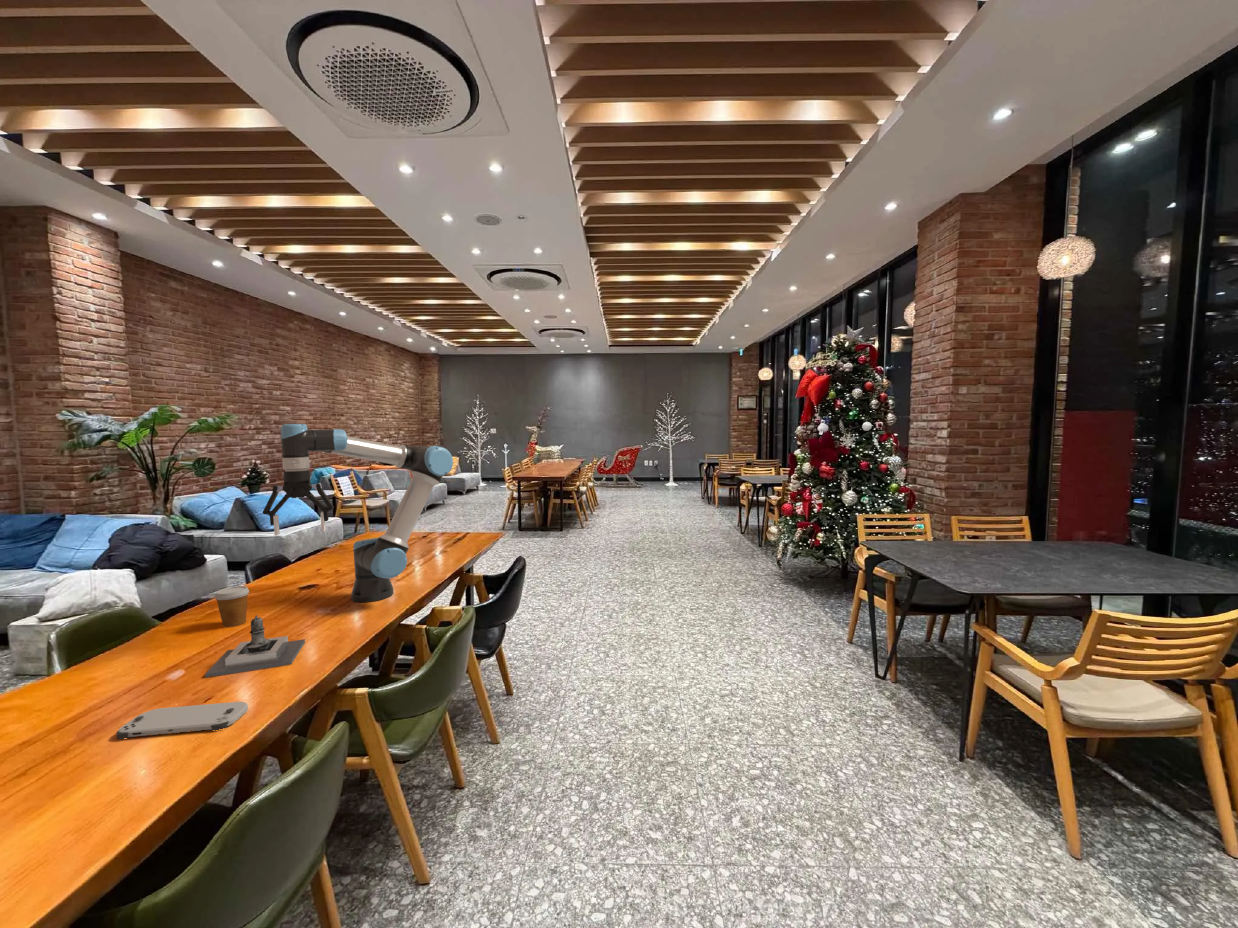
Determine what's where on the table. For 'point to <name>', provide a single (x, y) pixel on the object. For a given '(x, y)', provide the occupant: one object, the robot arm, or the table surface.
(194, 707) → the handheld gaming console
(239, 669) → the collar plate
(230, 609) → the disposable coffee cup
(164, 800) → the table surface
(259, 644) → the dark grey chess piece
